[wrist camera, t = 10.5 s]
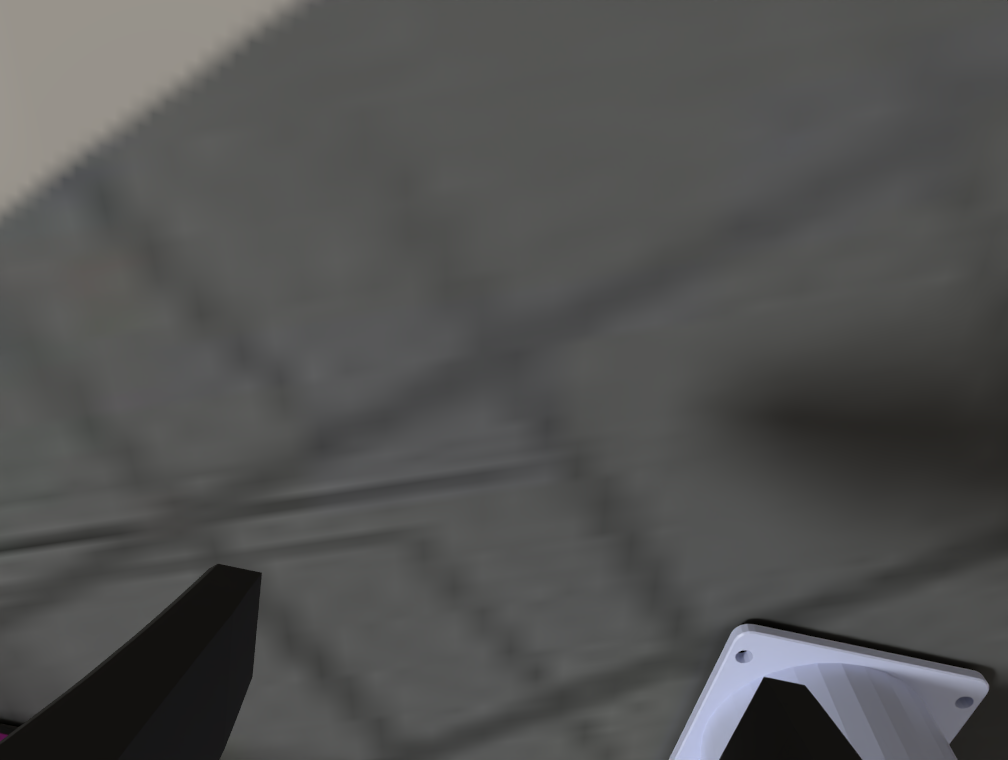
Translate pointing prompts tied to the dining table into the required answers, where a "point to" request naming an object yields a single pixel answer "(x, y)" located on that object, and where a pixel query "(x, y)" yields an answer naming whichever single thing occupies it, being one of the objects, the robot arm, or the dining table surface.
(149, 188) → the dining table surface
